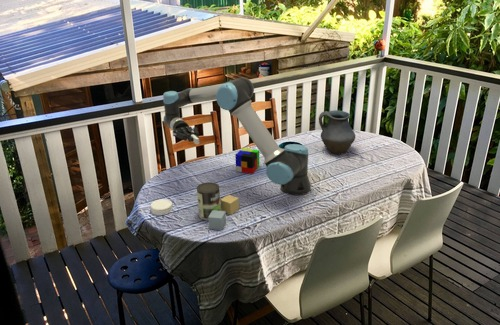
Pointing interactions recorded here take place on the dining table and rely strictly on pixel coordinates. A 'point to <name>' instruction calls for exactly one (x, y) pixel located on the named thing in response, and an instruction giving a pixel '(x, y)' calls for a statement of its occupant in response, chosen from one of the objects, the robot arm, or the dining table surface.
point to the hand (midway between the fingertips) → (197, 141)
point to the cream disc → (161, 207)
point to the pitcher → (336, 131)
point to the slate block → (217, 220)
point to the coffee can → (208, 199)
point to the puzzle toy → (247, 160)
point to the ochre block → (229, 204)
